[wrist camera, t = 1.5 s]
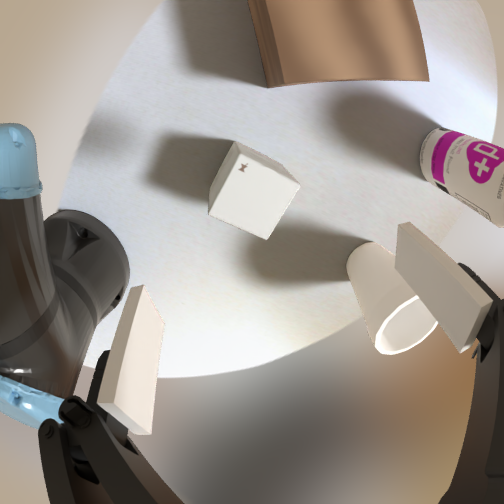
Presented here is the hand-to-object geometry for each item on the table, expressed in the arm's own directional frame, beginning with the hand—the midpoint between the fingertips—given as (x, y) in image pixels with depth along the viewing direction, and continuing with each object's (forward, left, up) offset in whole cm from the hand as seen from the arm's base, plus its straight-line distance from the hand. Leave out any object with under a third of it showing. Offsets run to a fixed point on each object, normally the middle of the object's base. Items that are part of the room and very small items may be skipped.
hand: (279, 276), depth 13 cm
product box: (0, 0, -19) cm, 19 cm away
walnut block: (+11, +16, -19) cm, 27 cm away
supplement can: (+26, -1, -19) cm, 32 cm away
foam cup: (+14, -15, -19) cm, 28 cm away
